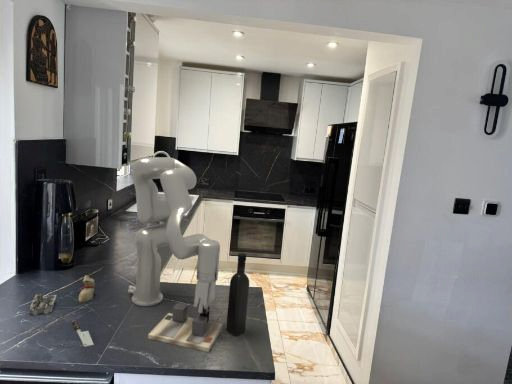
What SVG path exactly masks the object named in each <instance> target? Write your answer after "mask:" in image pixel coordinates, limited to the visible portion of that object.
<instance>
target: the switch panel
mask: <svg viewBox="0 0 512 384" xmlns="http://www.w3.org/2000/svg"><path fill="white" fill-rule="evenodd" d="M172 315H173V313H171V312H168V313H167V314H166V315H165V316H164V317H163V318H162V319H161V321H159V322H158V323H157V324H156V326H154V327H153V328H152V330H151V331H150V332H149V333H148V335H147V339H148V340H154V341H156V342H157V341H158V342H162V343H168V344H171V345H175V346H180V347H183V348H189V349H193V350H197V351H201V352H207V353H209V352H210V350H211V348H212V347H213V345H214V343H215V341H216V340H217V338H218V337H219V334H220V333H221V331H222V329H223V324H222V323H219V322H213V321H210V320H209V321H208V323H207V330H206V332H205V333H204V335H203V336H198V335H193V334H192V321H193V320H194V318H195V317H190V316H187V317H186V319H185V320H184V321H183V322H177V321H172Z"/></svg>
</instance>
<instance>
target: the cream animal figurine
mask: <svg viewBox="0 0 512 384" xmlns="http://www.w3.org/2000/svg"><path fill="white" fill-rule="evenodd" d="M83 277H84V278H83V280H82V284H84V286H82V290H80V293H79V295H78V299H77V300H78V303H79V304H80V303H85V302H88V301H90V300H92V299H93V298H94V292H95V289H96V288H95V287H96V283H95V280H94V278H91V277H90V276H88V275H84V276H83Z"/></svg>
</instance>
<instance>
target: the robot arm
mask: <svg viewBox="0 0 512 384" xmlns="http://www.w3.org/2000/svg"><path fill="white" fill-rule="evenodd" d="M131 176H132V180H133V184H134V190H135V198H136V214H137V220H138V221H139V222H140V223H141V224H147V225H148V224H154V223H159V224H155V225H150V226H145V227H142V228H140V229H139V230H138V231H137V232H136V233H135V236H134V242H135V249H136V280H135V282H136V283H135V285H129V286H128V290H127V293H130V294H132V296H131V302H132V304H134V305H136V306H139V307H153V306H156V305H158V304H159V303H161V302H163V299H164V296H163V293H162V292H160V291H161V288H160V287H161V270H162V269H161V267H162V265H161V264H162V260H161V255H160V254H159V253H158V249H160V248H163V247H167V246H169V249H170V251H171V253H172V255H173V256H174V257H175V258H176V259H178V260H187V259H189V258H192V257H196V256H197V264H196V280H197V281H196V285H195V292H194V299H193V300H194V301H193V307H194V308H197V307H198V311H197V312H198V314H199V316H203V317H207V323H208V321H209V322H210V309H211V304H212V303H213V301H214V299H215V298H216V284H217V283H216V281H218V278H219V267H220V266H219V265H220V252H221V244H220V242H219V241H217V240H215V239H211V238H209V237H208V236H206V235H205V234H203V233H195V234H191V235H187V236H183V234H182V230H181V222H182V219H183V217H184V216H185V214H187V213H188V212H190V211H191V209H193V202H192V199H191V195H190V193H189V190H192V189H194V188H195V187H196V184H197V176H196V174H195V172H194V171H193V169H192V168H190V167H189V166H188V165H186V164H185V163H182V162H181V161H180V160H178V159H176V158H173V157H166V156H165V157H163V156H162V157H159V156H155V157H154V156H149V157H142V158H139V159H137V160H136V161H135V162H134V163H133V166H132V170H131ZM155 179H157V180H158V179H159V180H160V184H161V185H160V186H161V187H162V190H163V194H164V197H165V198H164V197H163V198H159V189H158V187H157V185H156V183H155V182H154V180H155Z"/></svg>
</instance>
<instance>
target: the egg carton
mask: <svg viewBox="0 0 512 384" xmlns="http://www.w3.org/2000/svg"><path fill="white" fill-rule="evenodd" d="M56 298H57V294H51V295H49V294H47V295H46V296H44V295H43V294H38V293H36V294H35V296H34V297H33V300H32V302H31V304H30V306H29V307H30V308H29V311H30V314H31V315H33V316H38V315H39V314H44V315H48V314H49V313H52V312H53V308H54V307H55V306H54V305H55V303H56ZM38 303H39V304H38ZM47 303H48V304H47Z"/></svg>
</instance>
